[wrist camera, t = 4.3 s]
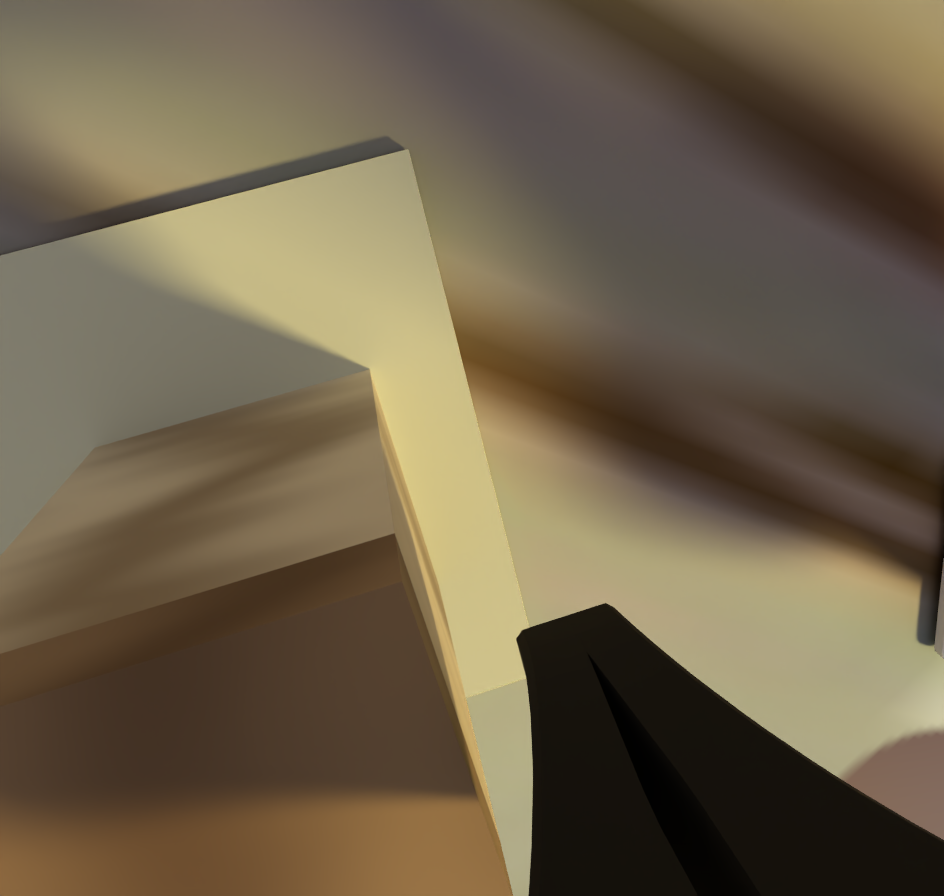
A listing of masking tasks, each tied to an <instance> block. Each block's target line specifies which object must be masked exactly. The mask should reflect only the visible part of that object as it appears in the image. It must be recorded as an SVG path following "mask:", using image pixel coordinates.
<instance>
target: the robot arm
mask: <svg viewBox="0 0 944 896" xmlns="http://www.w3.org/2000/svg"><path fill="white" fill-rule="evenodd" d="M516 641H517V645H518V648H519V652H520V656H521V660H522V664H523V667H524V671H525V675H526V679H527V686H528V694H529V704H530V713H531V733H532V756H533V809H532V849H531V868H530V885H529V896H944V840H943V839H941V838H939V837H937V836H935V835H934V834H932V833H930V832H928V831H927V830H925V829H923V828H921V827H919V826H918V825H916V824H914V823H912V822H910V821H909V820H907V819H905V818H904V817H902V816H900V815H899V814H897V813H895V812H894V811H892V810H890V809H889V808H887V807H885V806H884V805H882V804H880V803H879V802H877V801H875V800H874V799H872V798H870V797H869V796H867V795H865V794H864V793H862V792H860V791H859V790H857V789H856V788H854V787H852V786H851V785H849V784H847V783H846V782H844V781H843V780H841V779H840V778H838V777H836V776H835V775H833V774H832V773H830V772H829V771H827V770H826V769H824V768H823V767H821V766H819V765H818V764H816V763H815V762H813V761H812V760H810V759H809V758H807V757H806V756H804V755H803V754H801V753H800V752H798V751H797V750H795V749H794V748H792V747H791V746H790V745H788V744H787V743H785V742H784V741H782V740H781V739H779V738H778V737H776V736H775V735H773V734H772V733H770V732H769V731H767V730H766V729H765V728H763V727H762V726H760V725H759V724H758V723H756V722H755V721H753V720H752V719H751V718H749V717H748V716H746V715H745V714H744V713H742V712H741V711H740V710H738V709H737V708H736V707H734V706H733V705H732V704H730V703H729V702H728V701H726V700H725V699H724V698H722V697H721V696H720V695H718V694H717V693H716V692H714V691H713V690H712V689H710V688H709V687H708V686H706V685H705V684H704V683H702V682H701V681H700V680H698V679H697V678H696V677H695V676H693V675H692V674H691V673H690V672H688V671H687V670H686V669H685V668H683V667H682V666H681V665H680V664H678V663H677V662H676V661H675V660H674V659H672V658H671V657H670V656H669V655H667V654H666V653H665V652H664V651H663V650H661V649H660V648H659V647H658V646H657V645H655V644H654V643H653V642H652V641H651V640H650V639H648V638H647V637H646V636H645V635H644V634H643V633H642V632H640V631H639V630H638V629H637V628H636V627H635V626H634V625H632V624H631V623H630V622H629V621H628V620H627V619H626V618H625V617H624V616H623V615H622V614H620V613H619V612H618V611H617V610H616V609H615V608H614V607H612V606H610V605H608V604H606V603H605V604H601V605H598V606H595V607H592V608H589V609H586V610H583V611H580V612H577V613H573V614H570V615H567V616H564V617H561V618H558V619H555V620H552V621H549V622H546V623H542V624H539V625H536V626H533V627H530V628H527V629H524V630H522V631H521V632H520V634H519V635H518V637H517V638H516ZM934 648H935V651H936V652H937V653H938V654H939V655H940V656H941V657H943V658H944V560H943V569H942V579H941V588H940V598H939V607H938V617H937V626H936V636H935V646H934Z"/></svg>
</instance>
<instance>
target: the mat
mask: <svg viewBox="0 0 944 896" xmlns="http://www.w3.org/2000/svg"><path fill="white" fill-rule="evenodd" d="M368 369H370V371H371V374H372V378H373V381H374V384H375V387H376V390H377V393H378V396H379V399H380V403H381V406H382V409H383V412H384V415H385V418H386V421H387V424H388V428H389V431H390V434H391V437H392V440H393V443H394V446H395V449H396V453H397V456H398V459H399V462H400V465H401V468H402V471H403V475H404V478H405V481H406V484H407V487H408V490H409V493H410V496H411V500H412V503H413V506H414V509H415V512H416V515H417V518H418V521H419V525H420V528H421V531H422V534H423V537H424V540H425V543H426V546H427V550H428V553H429V556H430V559H431V562H432V565H433V568H434V571H435V575H436V578H437V581H438V584H439V588H440V592H441V596H442V600H443V605H444V609H445V613H446V617H447V621H448V626H449V630H450V634H451V638H452V642H453V647H454V651H455V655H456V659H457V663H458V667H459V672H460V676H461V680H462V684H463V688H464V693H465V697H466V698H467V697H471V696H474V695H477V694H480V693H483V692H486V691H489V690H492V689H495V688H498V687H501V686H504V685H507V684H510V683H513V682H516V681H519V680H522V679H525V678H526V675H525V671H524V667H523V664H522V660H521V656H520V652H519V648H518V645H517V641H516V638H517V637H518V635H519V634H520V632H521V631H522V630H524V629H527V628H529V625H528V621H527V617H526V613H525V609H524V605H523V601H522V597H521V593H520V589H519V585H518V581H517V577H516V573H515V569H514V565H513V561H512V557H511V553H510V549H509V545H508V541H507V537H506V533H505V529H504V526H503V522H502V518H501V514H500V510H499V506H498V502H497V498H496V494H495V490H494V486H493V482H492V478H491V474H490V470H489V466H488V462H487V458H486V454H485V450H484V446H483V442H482V438H481V434H480V430H479V426H478V422H477V419H476V415H475V411H474V407H473V403H472V399H471V395H470V391H469V387H468V383H467V379H466V375H465V371H464V367H463V363H462V359H461V355H460V351H459V347H458V343H457V339H456V335H455V331H454V327H453V323H452V319H451V315H450V312H449V308H448V304H447V300H446V296H445V292H444V288H443V284H442V280H441V276H440V272H439V268H438V264H437V260H436V256H435V252H434V248H433V244H432V240H431V236H430V232H429V228H428V224H427V220H426V216H425V212H424V208H423V205H422V201H421V197H420V193H419V189H418V185H417V181H416V177H415V173H414V169H413V165H412V161H411V157H410V153H409V149H406V150H402V151H398V152H395V153H391V154H387V155H383V156H379V157H375V158H372V159H368V160H364V161H360V162H356V163H352V164H349V165H345V166H341V167H337V168H333V169H329V170H326V171H322V172H318V173H314V174H310V175H306V176H303V177H299V178H295V179H291V180H287V181H284V182H280V183H276V184H272V185H268V186H264V187H261V188H257V189H253V190H249V191H245V192H241V193H238V194H234V195H230V196H226V197H222V198H218V199H215V200H211V201H207V202H203V203H199V204H196V205H192V206H188V207H184V208H180V209H176V210H173V211H169V212H165V213H161V214H157V215H153V216H150V217H146V218H142V219H138V220H134V221H130V222H127V223H123V224H119V225H115V226H111V227H107V228H104V229H100V230H96V231H92V232H88V233H85V234H81V235H77V236H73V237H69V238H65V239H62V240H58V241H54V242H50V243H46V244H42V245H39V246H35V247H31V248H27V249H23V250H19V251H16V252H12V253H8V254H4V255H0V556H1V554H2V553H3V552H4V551H5V550H6V549H7V548H8V546H9V545H10V544H11V543H12V542H13V541H14V540H15V538H16V537H17V536H18V535H19V534H20V533H21V532H22V530H23V529H24V528H25V527H26V526H27V525H28V524H29V522H30V521H31V520H32V519H33V518H34V517H35V515H36V514H37V513H38V512H39V511H40V510H41V509H42V507H43V506H44V505H45V504H46V503H47V502H48V501H49V499H50V498H51V497H52V496H53V495H54V494H55V493H56V491H57V490H58V489H59V488H60V487H61V486H62V485H63V483H64V482H65V481H66V480H67V479H68V478H69V477H70V475H71V474H72V473H73V472H74V471H75V470H76V469H77V467H78V466H79V465H80V464H81V463H82V462H83V461H84V459H85V458H86V457H87V456H88V455H89V454H90V452H91V451H92V450H93V449H94V448H95V447H99V446H102V445H106V444H109V443H113V442H116V441H120V440H123V439H127V438H130V437H134V436H137V435H141V434H144V433H148V432H151V431H155V430H158V429H162V428H165V427H169V426H172V425H176V424H179V423H183V422H186V421H190V420H193V419H197V418H200V417H204V416H207V415H211V414H214V413H218V412H221V411H225V410H228V409H232V408H235V407H239V406H242V405H246V404H249V403H253V402H256V401H260V400H263V399H267V398H270V397H274V396H277V395H281V394H284V393H288V392H291V391H295V390H298V389H302V388H305V387H309V386H312V385H316V384H319V383H323V382H326V381H330V380H333V379H337V378H340V377H344V376H347V375H351V374H354V373H358V372H361V371H365V370H368Z"/></svg>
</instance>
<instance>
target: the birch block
mask: <svg viewBox="0 0 944 896" xmlns="http://www.w3.org/2000/svg"><path fill="white" fill-rule="evenodd" d="M0 896H513V894H512V889H511V885H510V881H509V877H508V873H507V869H506V864H505V860H504V856H503V852H502V848H501V843H500V839H499V835H498V831H497V827H496V822H495V818H494V814H493V810H492V806H491V802H490V797H489V793H488V789H487V785H486V781H485V776H484V772H483V768H482V764H481V760H480V755H479V751H478V747H477V743H476V739H475V734H474V730H473V726H472V722H471V718H470V714H469V709H468V705H467V701H466V697H465V693H464V688H463V684H462V680H461V676H460V672H459V667H458V663H457V659H456V655H455V651H454V647H453V642H452V638H451V634H450V630H449V626H448V621H447V617H446V613H445V609H444V605H443V600H442V596H441V592H440V588H439V584H438V581H437V578H436V575H435V571H434V568H433V565H432V562H431V559H430V556H429V553H428V550H427V546H426V543H425V540H424V537H423V534H422V531H421V528H420V525H419V521H418V518H417V515H416V512H415V509H414V506H413V503H412V500H411V496H410V493H409V490H408V487H407V484H406V481H405V478H404V475H403V471H402V468H401V465H400V462H399V459H398V456H397V453H396V449H395V446H394V443H393V440H392V437H391V434H390V431H389V428H388V424H387V421H386V418H385V415H384V412H383V409H382V406H381V403H380V399H379V396H378V393H377V390H376V387H375V384H374V381H373V378H372V374H371V371H370V369H368V370H365V371H361V372H358V373H354V374H351V375H347V376H344V377H340V378H337V379H333V380H330V381H326V382H323V383H319V384H316V385H312V386H309V387H305V388H302V389H298V390H295V391H291V392H288V393H284V394H281V395H277V396H274V397H270V398H267V399H263V400H260V401H256V402H253V403H249V404H246V405H242V406H239V407H235V408H232V409H228V410H225V411H221V412H218V413H214V414H211V415H207V416H204V417H200V418H197V419H193V420H190V421H186V422H183V423H179V424H176V425H172V426H169V427H165V428H162V429H158V430H155V431H151V432H148V433H144V434H141V435H137V436H134V437H130V438H127V439H123V440H120V441H116V442H113V443H109V444H106V445H102V446H99V447H95V448H94V449H93V450H92V451H91V452H90V454H89V455H88V456H87V457H86V458H85V459H84V461H83V462H82V463H81V464H80V465H79V466H78V467H77V469H76V470H75V471H74V472H73V473H72V474H71V475H70V477H69V478H68V479H67V480H66V481H65V482H64V483H63V485H62V486H61V487H60V488H59V489H58V490H57V491H56V493H55V494H54V495H53V496H52V497H51V498H50V499H49V501H48V502H47V503H46V504H45V505H44V506H43V507H42V509H41V510H40V511H39V512H38V513H37V514H36V515H35V517H34V518H33V519H32V520H31V521H30V522H29V524H28V525H27V526H26V527H25V528H24V529H23V530H22V532H21V533H20V534H19V535H18V536H17V537H16V538H15V540H14V541H13V542H12V543H11V544H10V545H9V546H8V548H7V549H6V550H5V551H4V552H3V553H2V554H1V556H0Z"/></svg>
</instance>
